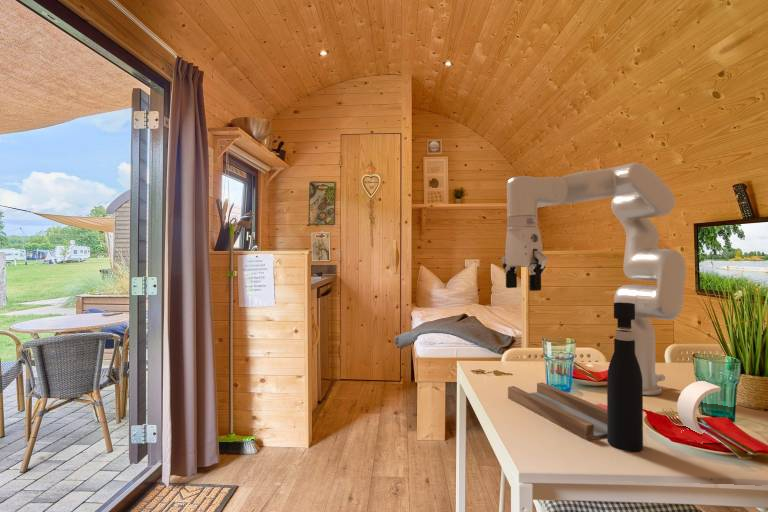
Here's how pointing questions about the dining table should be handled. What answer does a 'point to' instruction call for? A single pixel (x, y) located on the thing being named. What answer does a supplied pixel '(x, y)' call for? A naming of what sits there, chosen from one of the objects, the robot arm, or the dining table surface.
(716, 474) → the dining table surface
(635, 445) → the wine bottle
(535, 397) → the cradle
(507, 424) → the dining table surface
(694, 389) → the white crescent arch
